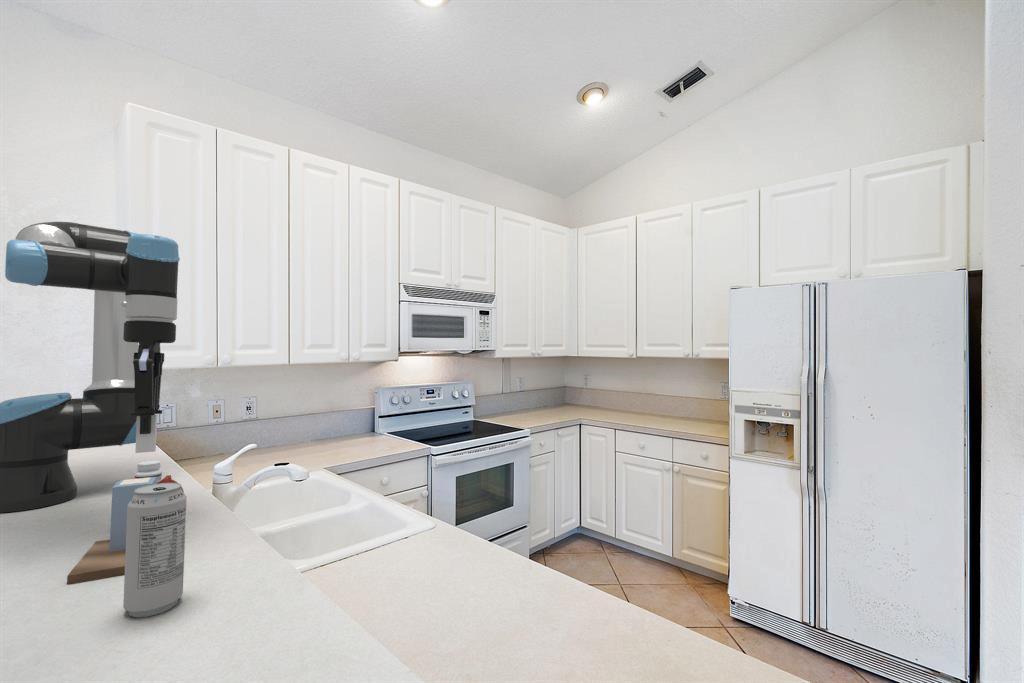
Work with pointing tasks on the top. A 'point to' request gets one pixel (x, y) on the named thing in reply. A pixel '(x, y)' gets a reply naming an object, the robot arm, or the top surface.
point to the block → (123, 509)
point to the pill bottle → (149, 470)
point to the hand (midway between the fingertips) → (145, 451)
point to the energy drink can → (154, 549)
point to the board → (98, 564)
